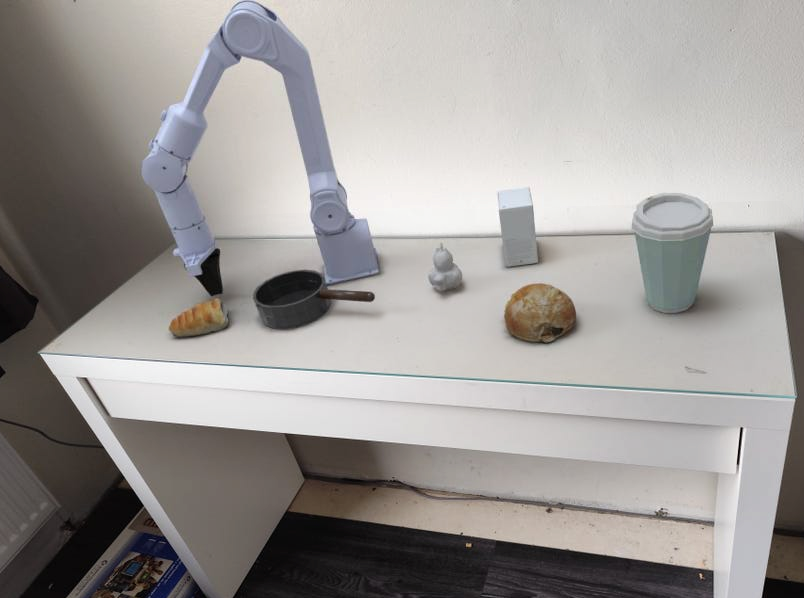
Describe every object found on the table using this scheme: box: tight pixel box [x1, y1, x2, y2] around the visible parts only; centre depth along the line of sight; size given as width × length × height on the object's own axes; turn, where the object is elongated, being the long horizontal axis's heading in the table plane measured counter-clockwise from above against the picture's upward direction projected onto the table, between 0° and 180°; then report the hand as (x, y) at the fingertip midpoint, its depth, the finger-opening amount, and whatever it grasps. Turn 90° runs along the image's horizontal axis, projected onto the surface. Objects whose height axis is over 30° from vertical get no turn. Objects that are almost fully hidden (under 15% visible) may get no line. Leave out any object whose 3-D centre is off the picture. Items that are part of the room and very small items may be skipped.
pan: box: [252, 269, 332, 330], centre depth 110 cm, size 12×12×4 cm
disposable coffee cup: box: [630, 192, 714, 314], centre depth 93 cm, size 11×11×15 cm
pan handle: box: [319, 288, 376, 303], centre depth 106 cm, size 10×2×2 cm, turn 71°
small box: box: [496, 186, 539, 268], centre depth 112 cm, size 8×6×10 cm
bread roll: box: [503, 282, 577, 344], centre depth 96 cm, size 10×10×8 cm
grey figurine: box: [427, 242, 463, 291], centre depth 107 cm, size 5×7×8 cm
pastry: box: [168, 297, 229, 338], centre depth 110 cm, size 9×7×4 cm
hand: (216, 293), depth 118 cm, fingers closed
